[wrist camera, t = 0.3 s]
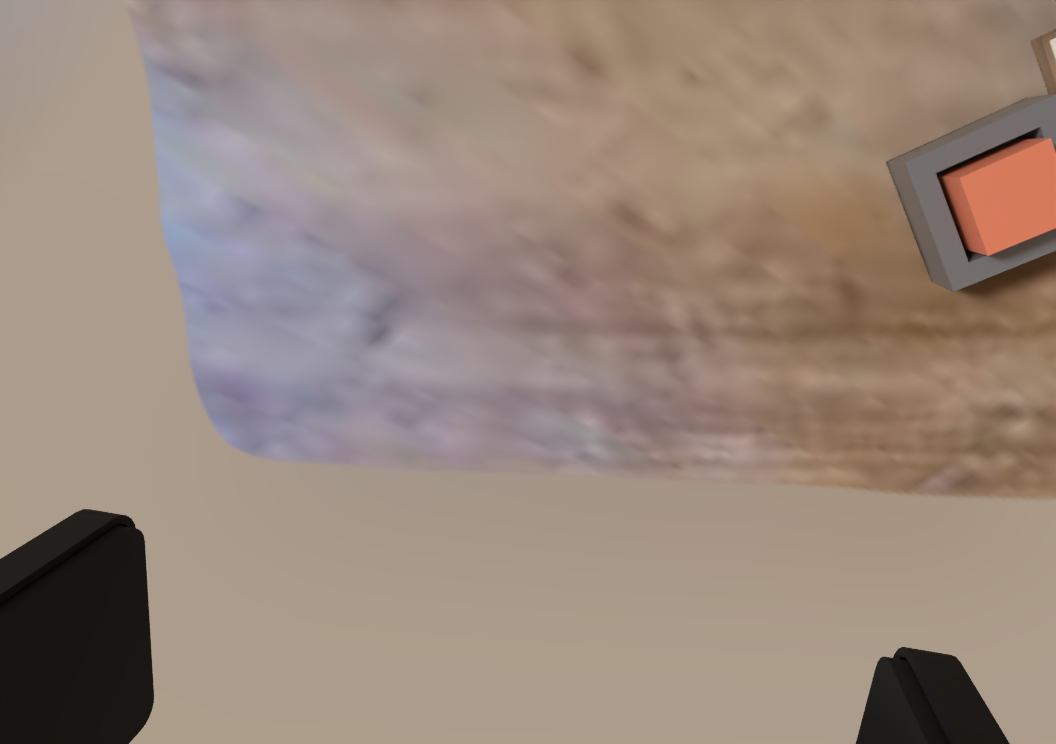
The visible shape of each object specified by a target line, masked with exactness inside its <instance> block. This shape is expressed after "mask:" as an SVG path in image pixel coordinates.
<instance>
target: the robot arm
mask: <svg viewBox="0 0 1056 744" xmlns="http://www.w3.org/2000/svg"><path fill="white" fill-rule="evenodd" d="M153 703H154V690H153V674H152V658H151V640H150V623H149V607H148V589H147V573H146V556H145V541H144V536H143V534H142V532H141V531H140V530H138V529H136V528H135V524H134V522H133V521H132V519H131V518H129V517H128V516H125V515H119V514H114V513H107V512H102V511H96V510H89V509H84V510H81V511H79V512H76V513H74V514H73V515H71V516H69V517H68V518H66V519H65V520H63V521H61V522H60V523H58V524H57V525H55V526H53V527H52V528H50V529H49V530H47V531H45V532H43V533H42V534H40V535H39V536H37V537H35V538H34V539H32V540H30V541H29V542H27V543H26V544H24V545H23V546H21V547H19V548H17V549H16V550H14V551H13V552H11V553H9V554H8V555H6V556H5V557H3V558H1V559H0V744H129V743H130V742H131V740H132V739H133V738H134V737H135V736H136V735H137V734H138V733H139V731H140V730H141V729H142V728H143V727H144V725H145V724H146V722H147V720H148V718H149V716H150V713H151V711H152V707H153ZM856 744H1009V742H1008V740H1007V739H1006V737H1005V735H1004V734H1003V732H1002V730H1001V729H1000V727H999V725H998V724H997V722H996V720H995V719H994V717H993V715H992V714H991V712H990V710H989V709H988V707H987V705H986V704H985V702H984V701H983V699H982V697H981V696H980V694H979V692H978V691H977V689H976V687H975V686H974V684H973V682H972V681H971V679H970V677H969V676H968V674H967V672H966V671H965V669H964V668H963V666H962V664H961V662H960V661H959V660H958V659H957V658H956V657H955V656H952V655H947V654H942V653H935V652H929V651H924V650H918V649H912V648H906V647H901V648H899V649H898V650H897V651H896V653H895V654H894V657H893V658H889V657H882V658H880V660H879V661H878V663H877V666H876V669H875V673H874V677H873V681H872V684H871V688H870V692H869V696H868V699H867V703H866V707H865V711H864V715H863V719H862V722H861V726H860V730H859V734H858V738H857V741H856Z"/></svg>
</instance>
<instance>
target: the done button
mask: <svg viewBox="0 0 1056 744" xmlns="http://www.w3.org/2000/svg"><path fill="white" fill-rule="evenodd" d="M937 178H938V180H939V183H940V186H941V189H942V191H943V194H944V197H945V199H946V202H947V205H948V207H949V210H950V213H951V216H952V218H953V221H954V224H955V226H956V229H957V232H958V235H959V237H960V240H961V243H962V245H963V248H964V249H966V250H970V251H973V252H976V253H980V254H983V255H986V256H989V255H992V254H994V253H996V252H999V251H1001V250H1004V249H1006V248H1009V247H1011V246H1014V245H1016V244H1018V243H1021V242H1023V241H1026V240H1028V239H1031V238H1033V237H1035V236H1038V235H1040V234H1043V233H1045V232H1048V231H1050V230H1053V229H1055V228H1056V152H1055V149H1054V146H1053V143H1052V140H1051V138H1038V139H1018V140H1016V141H1014V142H1012V143H1009V144H1007V145H1005V146H1003V147H1000V148H998V149H996V150H994V151H991V152H989V153H987V154H985V155H982V156H980V157H978V158H976V159H973V160H971V161H969V162H967V163H964V164H962V165H960V166H957V167H955V168H953V169H951V170H948V171H946V172H944V173H942V174H939V175H937Z"/></svg>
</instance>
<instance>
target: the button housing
mask: <svg viewBox="0 0 1056 744" xmlns="http://www.w3.org/2000/svg"><path fill="white" fill-rule="evenodd" d="M1038 138H1051V140H1052V143H1053V146H1054V149H1055V152H1056V94H1050V95H1044V96H1038V97H1031V98H1026V99H1023V100H1021V101H1019V102H1017V103H1015V104H1012V105H1010V106H1008V107H1006V108H1004V109H1001V110H999V111H997V112H995V113H993V114H990V115H988V116H986V117H984V118H982V119H979V120H977V121H975V122H973V123H971V124H968V125H966V126H964V127H962V128H960V129H957V130H955V131H953V132H951V133H949V134H946V135H944V136H942V137H940V138H938V139H935V140H933V141H931V142H929V143H927V144H924V145H922V146H920V147H918V148H916V149H913V150H911V151H909V152H907V153H905V154H903V155H900V156H898V157H896V158H894V159H892V160H889V161H887V162H886V163H887V166H888V168H889V171H890V174H891V176H892V179H893V182H894V184H895V187H896V189H897V192H898V195H899V197H900V200H901V203H902V205H903V208H904V211H905V213H906V216H907V218H908V221H909V224H910V226H911V229H912V232H913V234H914V237H915V239H916V242H917V245H918V247H919V250H920V253H921V255H922V258H923V260H924V263H925V266H926V268H927V271H928V274H929V276H930V279H931V282H933V283H935V284H937V285H940V286H942V287H944V288H946V289H949V290H951V291H953V292H954V291H957V290H959V289H962V288H964V287H967V286H969V285H972V284H974V283H977V282H979V281H982V280H984V279H987V278H989V277H992V276H994V275H997V274H999V273H1002V272H1004V271H1006V270H1009V269H1011V268H1014V267H1016V266H1019V265H1021V264H1024V263H1026V262H1029V261H1031V260H1034V259H1036V258H1039V257H1041V256H1044V255H1046V254H1049V253H1051V252H1054V251H1056V228H1055V229H1053V230H1050V231H1048V232H1045V233H1043V234H1040V235H1038V236H1035V237H1033V238H1031V239H1028V240H1026V241H1023V242H1021V243H1018V244H1016V245H1014V246H1011V247H1009V248H1006V249H1004V250H1001V251H999V252H996V253H994V254H992V255H989V256H986V255H983V254H980V253H976V252H973V251H970V250H966V249H964V248H963V245H962V243H961V240H960V237H959V235H958V232H957V229H956V226H955V224H954V221H953V218H952V216H951V213H950V210H949V207H948V205H947V202H946V199H945V197H944V194H943V191H942V189H941V186H940V183H939V180H938V178H937V175H939V174H942V173H944V172H946V171H948V170H951V169H953V168H955V167H957V166H960V165H962V164H964V163H967V162H969V161H971V160H973V159H976V158H978V157H980V156H982V155H985V154H987V153H989V152H991V151H994V150H996V149H998V148H1000V147H1003V146H1005V145H1007V144H1009V143H1012V142H1014V141H1016V140H1018V139H1038Z"/></svg>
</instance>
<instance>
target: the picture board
mask: <svg viewBox="0 0 1056 744" xmlns="http://www.w3.org/2000/svg"><path fill="white" fill-rule="evenodd" d="M1031 43H1032V46H1033V49H1034V52H1035V55H1036V58H1037V61H1038V64H1039V66H1040V69H1041V72H1042V75H1043V78H1044V81H1045V84H1046V87H1047V90H1048V93H1049V95H1050V94H1056V29H1055V30H1053V31H1051V32H1049V33H1046V34H1044V35H1042V36H1040V37H1038V38H1036V39H1034V40H1032V41H1031Z"/></svg>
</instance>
